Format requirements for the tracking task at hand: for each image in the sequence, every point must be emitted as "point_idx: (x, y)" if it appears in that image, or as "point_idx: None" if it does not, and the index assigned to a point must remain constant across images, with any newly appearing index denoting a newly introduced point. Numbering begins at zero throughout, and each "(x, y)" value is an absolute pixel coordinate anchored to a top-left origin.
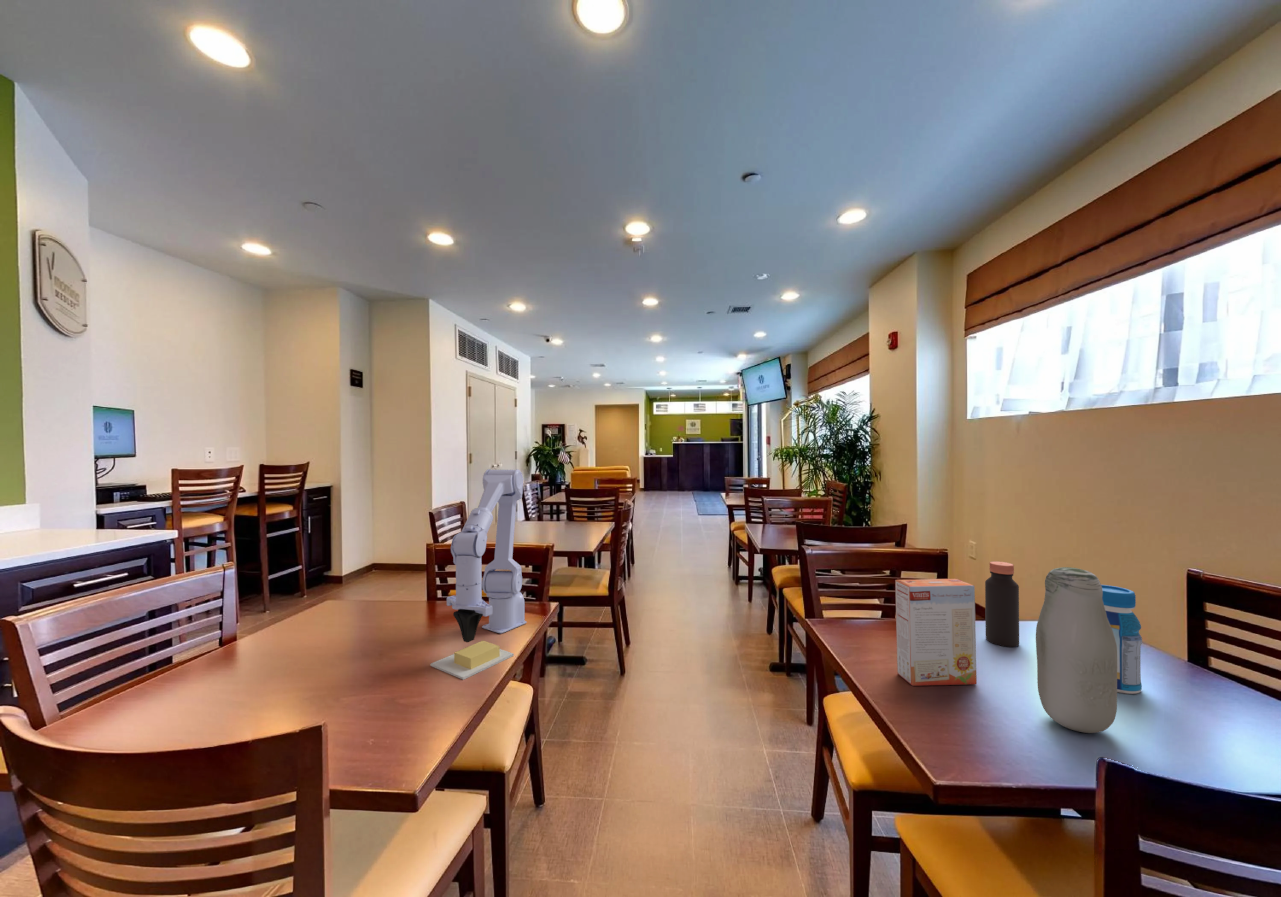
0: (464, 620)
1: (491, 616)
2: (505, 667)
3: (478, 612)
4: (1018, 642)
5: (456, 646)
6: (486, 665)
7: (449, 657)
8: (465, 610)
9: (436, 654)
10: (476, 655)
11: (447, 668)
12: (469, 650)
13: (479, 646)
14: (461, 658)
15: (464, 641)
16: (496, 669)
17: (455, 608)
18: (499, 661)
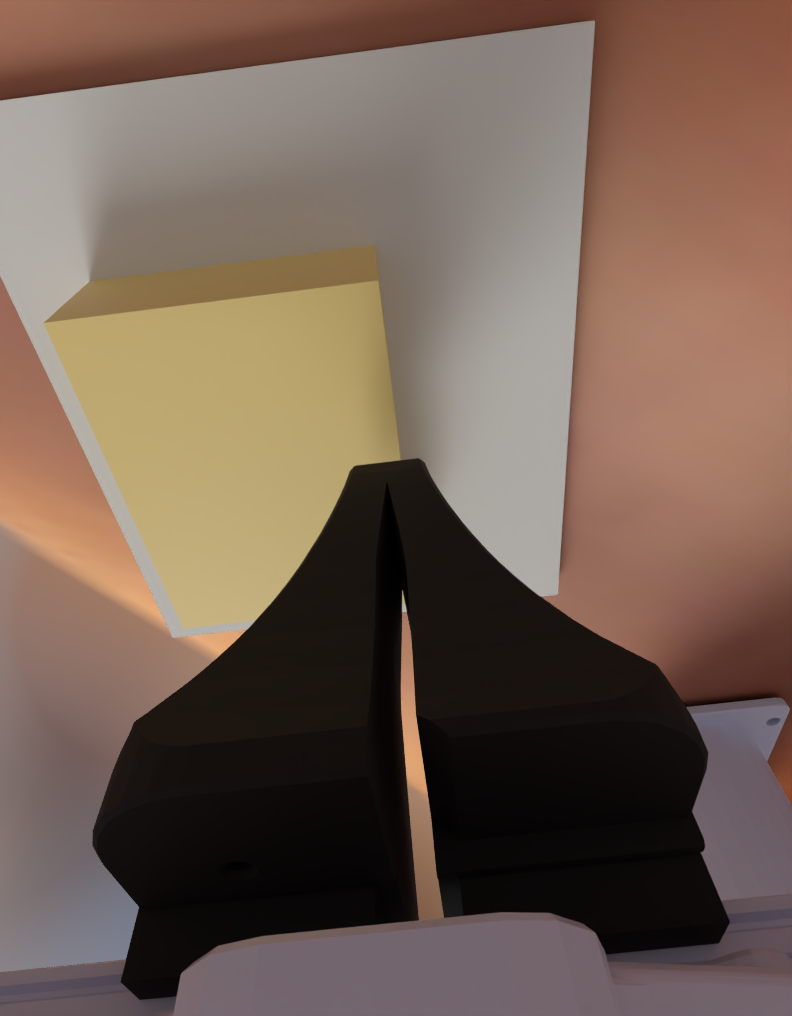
0: (235, 681)
1: (732, 808)
2: (6, 507)
3: (18, 985)
4: None
5: (721, 455)
6: (85, 421)
7: (539, 279)
8: (463, 898)
9: (772, 245)
10: (101, 408)
11: (297, 109)
12: (290, 422)
13: (310, 527)
14: (237, 287)
15: (403, 460)
16: (9, 448)
17: (258, 998)
18: (124, 526)
